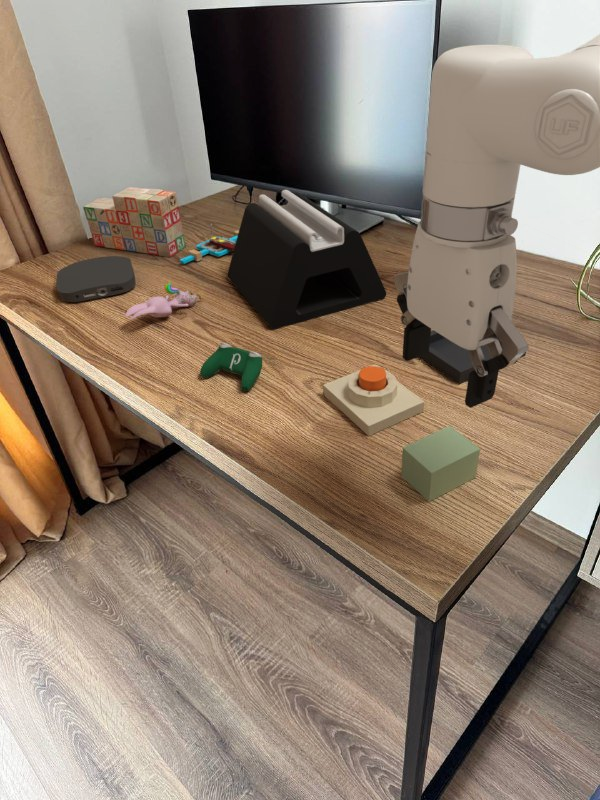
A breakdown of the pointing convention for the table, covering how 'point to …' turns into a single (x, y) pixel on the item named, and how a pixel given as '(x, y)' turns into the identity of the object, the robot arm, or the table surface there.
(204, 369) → the gaming controller
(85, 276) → the media streaming box
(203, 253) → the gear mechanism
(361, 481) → the table surface
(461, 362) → the dock
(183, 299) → the pink unicorn figurine
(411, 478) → the sage green block
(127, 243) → the stack of blocks
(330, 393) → the beige button base
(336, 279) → the device stand
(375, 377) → the button
